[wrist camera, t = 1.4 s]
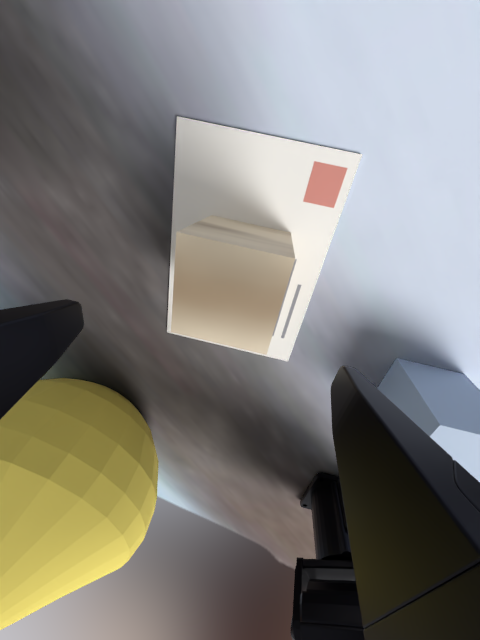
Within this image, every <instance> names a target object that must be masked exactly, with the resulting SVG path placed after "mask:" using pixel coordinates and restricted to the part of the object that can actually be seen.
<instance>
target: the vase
mask: <svg viewBox="0 0 480 640" xmlns="http://www.w3.org/2000/svg"><path fill="white" fill-rule="evenodd" d="M157 481H158V458H157V454H156V450H155V446H154V442H153V438H152V434H151V431H150V428H149V427H148V425H147V423H146V422H145V420H144V418H143V417H142V415H141V414H140V412H139V411H138V410H137V409H136V408H135V406H134V405H133V404H132V403H131V402H130V401H129V400H127V399H126V398H125V397H123V396H122V395H121V394H119V393H118V392H116V391H114V390H112V389H110V388H108V387H106V386H103V385H100V384H97V383H93V382H89V381H84V380H78V379H69V378H57V379H46V380H38V381H37V383H36V384H35V385H34V386H33V387H32V388H31V389H30V390H29V391H28V392H27V393H26V394H25V395H24V396H23V397H22V398H21V399H20V400H19V401H18V402H17V403H16V404H15V405H14V406H13V407H12V408H11V409H10V410H9V411H8V412H7V413H6V414H5V415H4V416H3V417H2V418H1V419H0V630H1V629H3V628H5V627H7V626H9V625H11V624H13V623H14V622H16V621H18V620H20V619H22V618H24V617H25V616H27V615H29V614H31V613H32V612H35V611H37V610H38V609H40V608H42V607H44V606H46V605H48V604H50V603H51V602H53V601H55V600H57V599H59V598H61V597H63V596H65V595H67V594H69V593H71V592H73V591H75V590H77V589H79V588H81V587H83V586H85V585H87V584H89V583H91V582H93V581H95V580H97V579H99V578H101V577H103V576H105V575H107V574H109V573H111V572H113V571H115V570H117V569H119V568H121V567H122V566H123V565H124V564H125V563H126V562H127V561H128V560H129V559H130V558H131V556H132V555H133V554H134V552H135V551H136V549H137V548H138V547H139V545H140V544H141V543H142V541H143V540H144V537H145V534H146V532H147V529H148V526H149V523H150V521H151V518H152V516H153V513H154V509H155V504H156V499H157Z"/></svg>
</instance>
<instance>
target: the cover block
mask: <svg viewBox="0 0 480 640" xmlns="http://www.w3.org/2000/svg"><path fill="white" fill-rule="evenodd" d="M294 261H295V254H294V248H293V242H292V237H291V233H290V232H286V231H281V230H277V229H272V228H268V227H263V226H258V225H254V224H249V223H245V222H240V221H236V220H231V219H227V218H222V217H218V216H213V215H211V216H209V217H207V218H205V219H203V220H200V221H198V222H196V223H194V224H192V225H190V226H188V227H186V228H184V229H181V230H179V231H177V232H176V249H175V267H174V285H173V304H172V322H171V332H173V333H177V334H182V335H186V336H190V337H194V338H198V339H202V340H207V341H211V342H215V343H219V344H223V345H227V346H232V347H236V348H240V349H244V350H248V351H252V352H257V353H261V354H265V355H267V352H268V348H269V345H270V341H271V338H272V335H273V331H274V328H275V325H276V321H277V318H278V315H279V311H280V308H281V305H282V301H283V298H284V295H285V291H286V288H287V285H288V281H289V278H290V275H291V271H292V268H293V265H294Z"/></svg>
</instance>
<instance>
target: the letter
mask: <svg viewBox="0 0 480 640" xmlns="http://www.w3.org/2000/svg"><path fill="white" fill-rule="evenodd" d="M361 157H362V154H357V153H352V152H347V151H342V150H338V149H333V148H328V147H323V146H318V145H313V144H309V143H304V142H299V141H294V140H289V139H284V138H280V137H275V136H270V135H265V134H260V133H256V132H251V131H246V130H241V129H236V128H231V127H227V126H222V125H217V124H212V123H207V122H202V121H198V120H193V119H188V118H183V117H178V116H177V126H176V147H175V169H174V191H173V213H172V235H171V256H170V278H169V300H168V322H167V333H172V334H176V335H180V336H184V337H188V338H192V339H197V340H201V341H205V342H209V343H213V344H217V345H222V346H226V347H230V348H234V349H238V350H242V351H247V352H251V353H255V354H259V355H263V356H267V357H272V358H276V359H280V360H284V361H288V360H289V357H290V354H291V352H292V349H293V346H294V343H295V341H296V338H297V335H298V332H299V329H300V327H301V324H302V321H303V318H304V316H305V313H306V310H307V307H308V304H309V302H310V299H311V296H312V293H313V291H314V288H315V285H316V282H317V279H318V277H319V274H320V271H321V268H322V266H323V263H324V260H325V257H326V254H327V252H328V249H329V246H330V243H331V240H332V238H333V235H334V232H335V229H336V227H337V224H338V221H339V218H340V215H341V213H342V210H343V207H344V204H345V202H346V199H347V196H348V193H349V190H350V188H351V185H352V182H353V179H354V177H355V174H356V171H357V168H358V165H359V163H360V160H361ZM211 215H213V216H218V217H222V218H227V219H231V220H236V221H240V222H245V223H249V224H254V225H258V226H263V227H268V228H272V229H277V230H281V231H286V232H290V233H291V237H292V242H293V248H294V254H295V261H294V265H293V268H292V271H291V275H290V278H289V281H288V285H287V288H286V291H285V295H284V298H283V301H282V305H281V308H280V311H279V315H278V318H277V321H276V325H275V328H274V331H273V335H272V338H271V341H270V345H269V348H268V352H267V355H265V354H261V353H257V352H252V351H248V350H244V349H240V348H236V347H232V346H227V345H223V344H219V343H215V342H211V341H207V340H202V339H198V338H194V337H190V336H186V335H182V334H177V333H173V332H171V322H172V304H173V285H174V267H175V249H176V232H177V231H179V230H181V229H184V228H186V227H188V226H190V225H192V224H194V223H196V222H198V221H200V220H203V219H205V218H207V217H209V216H211Z"/></svg>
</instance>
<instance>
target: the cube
mask: <svg viewBox="0 0 480 640" xmlns="http://www.w3.org/2000/svg"><path fill="white" fill-rule="evenodd" d="M377 389H378V390H379V391H381V392H382V393H383V394H384V395H385V396H386V397H387V398H388V399H389V400H390V401H391V402H393V403H394V404H395V405H396V406H397V407H398V408H399V409H400V410H401V411H402V412H403V413H405V414H406V415H407V416H408V417H409V418H410V419H411V420H412V421H413V422H414V423H415V424H417V425H418V426H419V427H420V428H421V429H422V430H423V431H424V432H425V433H426V434H427V435H428V436H430V437H431V438H432V439H433V440H434V441H435V442H436V443H437V444H438V445H439V446H440V447H442V448H443V449H444V450H445V451H446V452H447V453H448V454H449V455H450V456H451V457H452V458H453V460H456V461H457V462H458V463H459V464H460V465H461V466H462V467H463V468H464V469H466V470H467V471H468V472H469V473H470V474H471V475H472V476H473V477H474V478H475V479H477V480H478V481H479V482H480V390H479V389H478V388H477V387H476V386H475V385H474V384H473V383H472V382H471V381H470V379H469V378H468V377H467V376H466V375H465V374H462V373H458V372H454V371H450V370H445V369H441V368H437V367H433V366H429V365H424V364H420V363H416V362H412V361H407V360H403V359H399V358H396V359H395V361H394V363H393V364H392V366H391V367H390V369H389V370H388V372H387V374H386V375H385V377H384V378H383V380H382V382H381V383H380V385H379V386H378V388H377Z"/></svg>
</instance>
